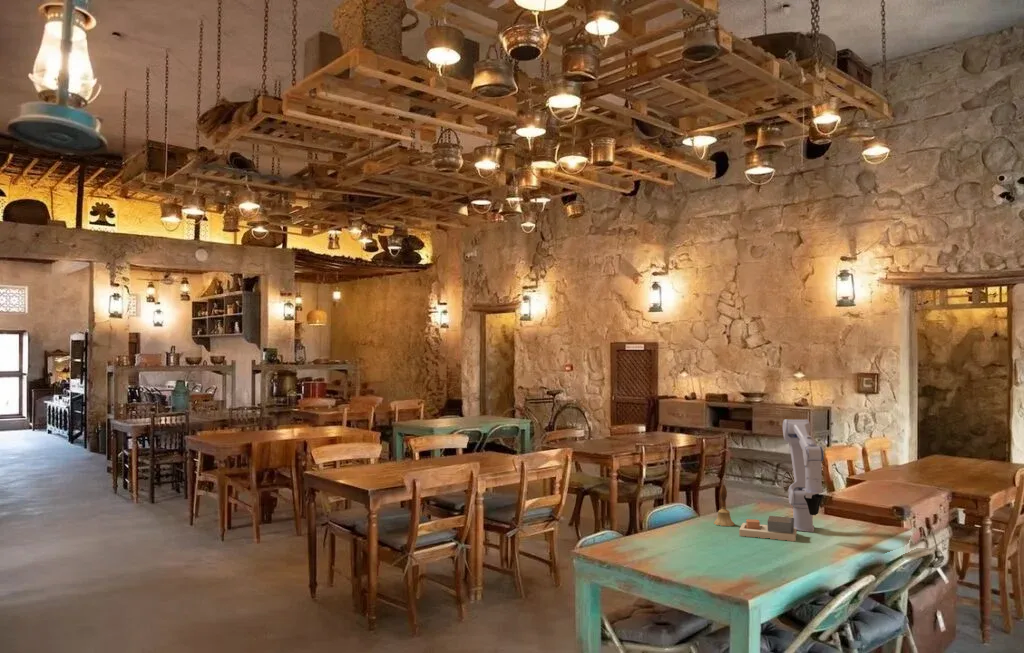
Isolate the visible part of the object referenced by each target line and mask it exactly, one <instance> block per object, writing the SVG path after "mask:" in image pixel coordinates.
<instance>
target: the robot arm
mask: <svg viewBox="0 0 1024 653" xmlns="http://www.w3.org/2000/svg"><path fill="white" fill-rule="evenodd" d="M782 433H783V434H782V435H783V440H784V441H785V442H787V443H788V446H789V449H790V450H789V451H790V458H791V463H792V465H791V466H792V472H793V478H794V479H793V480H794V482H792V483H791V484H790V485H789V487H788V490H787V491H788V502H789V504H790V506H792V514H793V515H792V516H793V517H792V518H794V528H797V531H799V532H809V533H811V532H812V533H814V532H815V531H814V530H815V525H814V524H813V523H814V520H813V518H814V516H817V515H819V511H820V506H821V502H822V500H823V498H824V494H822V493H823V490H822V489H823V485H822V482H823V481H822V478H823V477H822V472H823V471H822V462H823V461H824V457H825V456H824V449H823V446H821V445H818V444H817V442H816V440H815V438H814V437H813V436H812V435H810V433H811V423H810V421H809V419H808V418H805V419H787V418H785V419H783V420H782Z"/></svg>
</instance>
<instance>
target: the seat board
mask: <svg viewBox="0 0 1024 653" xmlns="http://www.w3.org/2000/svg"><path fill="white" fill-rule="evenodd" d="M797 531H798V530H797V528H794V531H793V533H783V532H773V531H768V524H760V530H756V529H746V522H742V524H741V525H740V528H739V530H738V532H739V535H738V536H739V537H745V536H746V537H747V538H755V537H758V538H757V539H765V538H770V539H769V540H775V539H778V540H777V541H785V540H787V541H786V542H796V538H797ZM759 537H760V538H759Z"/></svg>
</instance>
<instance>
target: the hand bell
mask: <svg viewBox="0 0 1024 653" xmlns="http://www.w3.org/2000/svg"><path fill="white" fill-rule="evenodd" d="M719 490H720V491H719V492H720V498H721V508H720V509H719V510H718V511H717V517H716V520H714V522H713V525H715V524H716V525H715V526H718V525H721V526H720V527H734V526H735V525H736V524H735V522H734V521H733V519H732V518H731V513H730V511H729V510H728V509H727V504H726V503H727V496H728V493H727V492H728V491H727V490H728V489H727V488H726V485H725V484H722V485H721V488H720V489H719Z"/></svg>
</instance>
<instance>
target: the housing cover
mask: <svg viewBox="0 0 1024 653" xmlns="http://www.w3.org/2000/svg"><path fill="white" fill-rule="evenodd" d="M767 525H768V531H773V532H783V533H793V531H794V518H793V517H789V516H787V517H786V516H776V515H769V517H768V519H767Z"/></svg>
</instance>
